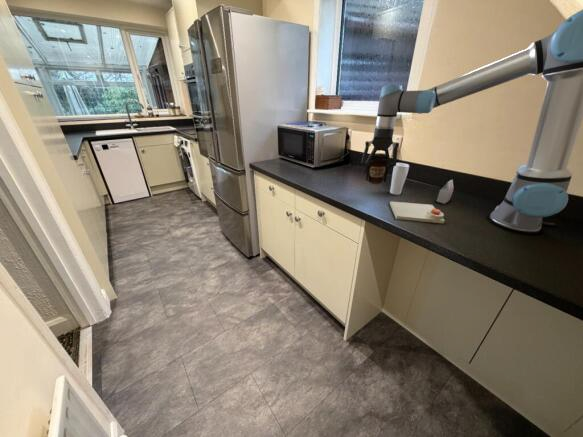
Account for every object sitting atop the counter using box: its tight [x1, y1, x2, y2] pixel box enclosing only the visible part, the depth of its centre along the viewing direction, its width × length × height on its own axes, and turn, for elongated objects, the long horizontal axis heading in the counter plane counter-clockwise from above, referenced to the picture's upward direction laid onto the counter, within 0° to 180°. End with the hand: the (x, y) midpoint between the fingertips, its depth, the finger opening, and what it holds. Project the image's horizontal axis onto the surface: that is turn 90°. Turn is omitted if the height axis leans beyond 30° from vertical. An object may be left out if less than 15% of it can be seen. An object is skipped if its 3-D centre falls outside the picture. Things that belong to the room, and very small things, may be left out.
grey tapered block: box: [436, 179, 455, 204], centre depth 109 cm, size 4×7×10 cm, turn 131°
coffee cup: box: [367, 152, 389, 185], centre depth 105 cm, size 9×8×13 cm
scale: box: [389, 201, 446, 224], centre depth 99 cm, size 18×15×3 cm
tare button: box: [431, 208, 441, 215], centre depth 93 cm, size 3×3×2 cm
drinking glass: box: [389, 162, 410, 196], centre depth 116 cm, size 7×7×15 cm
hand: (375, 180), depth 107 cm, fingers closed on coffee cup, 7 cm apart
